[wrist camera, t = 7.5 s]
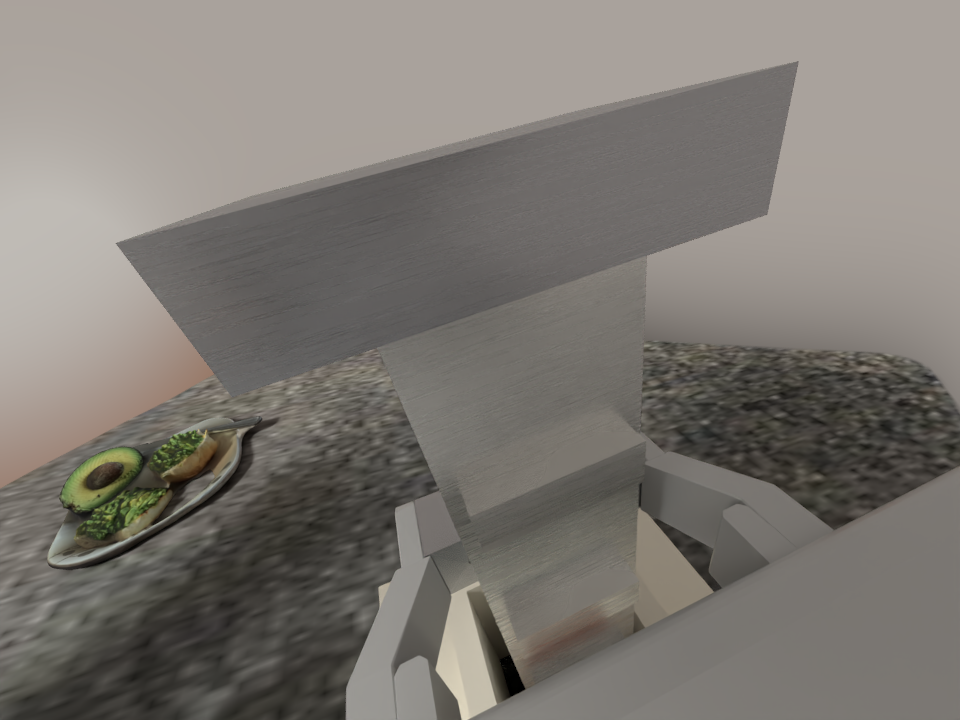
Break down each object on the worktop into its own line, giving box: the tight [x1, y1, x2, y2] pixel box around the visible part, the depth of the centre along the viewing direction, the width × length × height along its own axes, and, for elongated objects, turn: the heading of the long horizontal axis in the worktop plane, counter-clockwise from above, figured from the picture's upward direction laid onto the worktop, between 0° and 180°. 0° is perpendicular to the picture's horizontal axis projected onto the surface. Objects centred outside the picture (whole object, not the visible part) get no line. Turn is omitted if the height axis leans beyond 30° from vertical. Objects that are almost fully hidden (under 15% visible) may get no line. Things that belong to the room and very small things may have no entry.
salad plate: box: [47, 416, 262, 570], centre depth 39 cm, size 19×18×5 cm
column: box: [116, 62, 798, 689], centre depth 11 cm, size 6×5×24 cm
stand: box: [379, 508, 714, 720], centre depth 15 cm, size 18×18×10 cm
